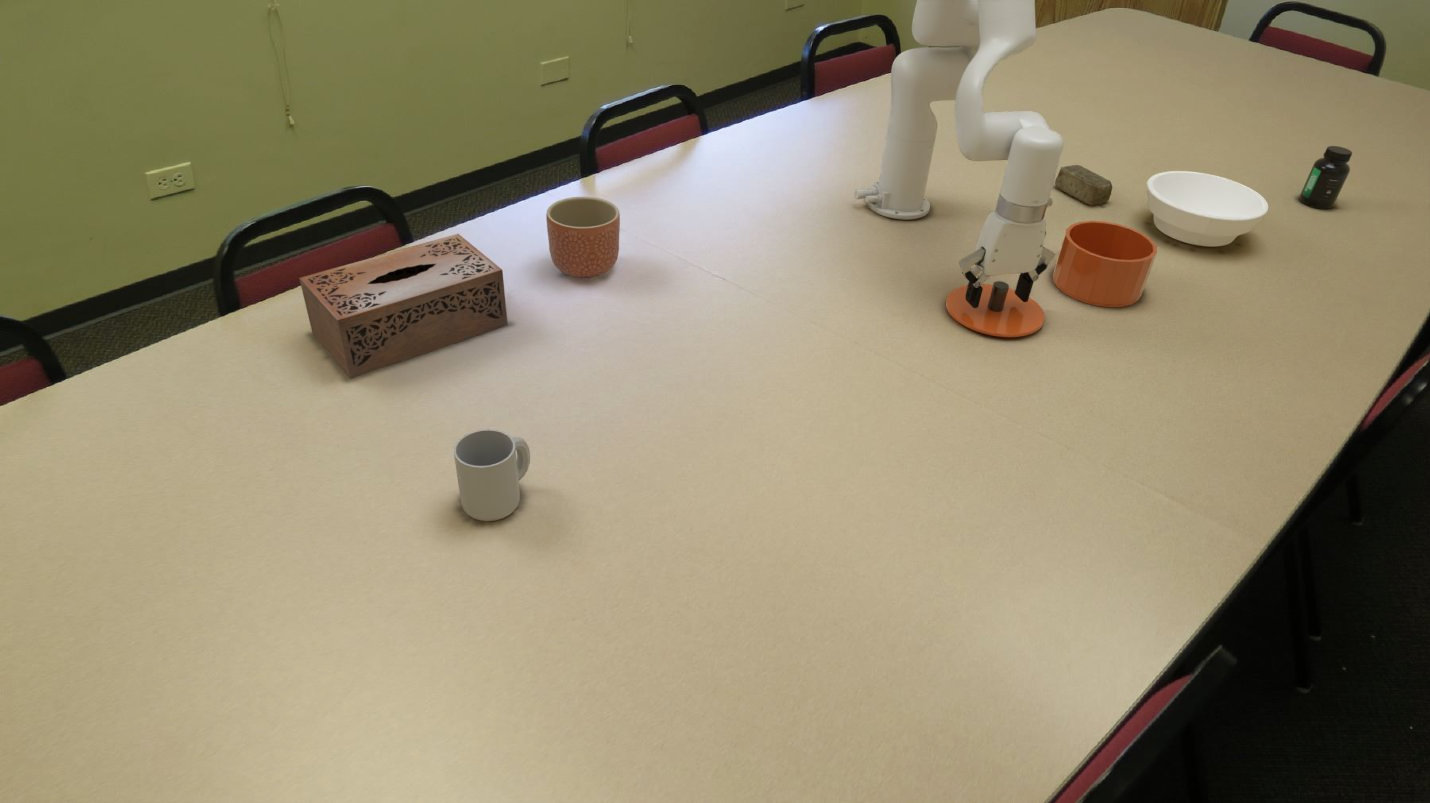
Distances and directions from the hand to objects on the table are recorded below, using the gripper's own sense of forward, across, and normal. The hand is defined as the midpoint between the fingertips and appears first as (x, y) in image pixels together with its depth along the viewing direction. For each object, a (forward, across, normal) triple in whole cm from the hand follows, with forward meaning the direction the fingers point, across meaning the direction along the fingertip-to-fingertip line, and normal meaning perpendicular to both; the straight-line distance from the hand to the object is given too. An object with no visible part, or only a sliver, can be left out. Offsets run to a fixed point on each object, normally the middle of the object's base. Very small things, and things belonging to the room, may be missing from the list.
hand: (996, 300), depth 162 cm
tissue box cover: (+3, +95, -15) cm, 96 cm away
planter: (+3, +65, -29) cm, 71 cm away
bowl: (+3, -57, -20) cm, 60 cm away
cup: (+3, +86, +27) cm, 90 cm away
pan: (+3, -24, -5) cm, 25 cm away
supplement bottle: (+3, -95, -27) cm, 99 cm away
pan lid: (+2, 0, 0) cm, 2 cm away
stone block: (+3, -44, -40) cm, 59 cm away
